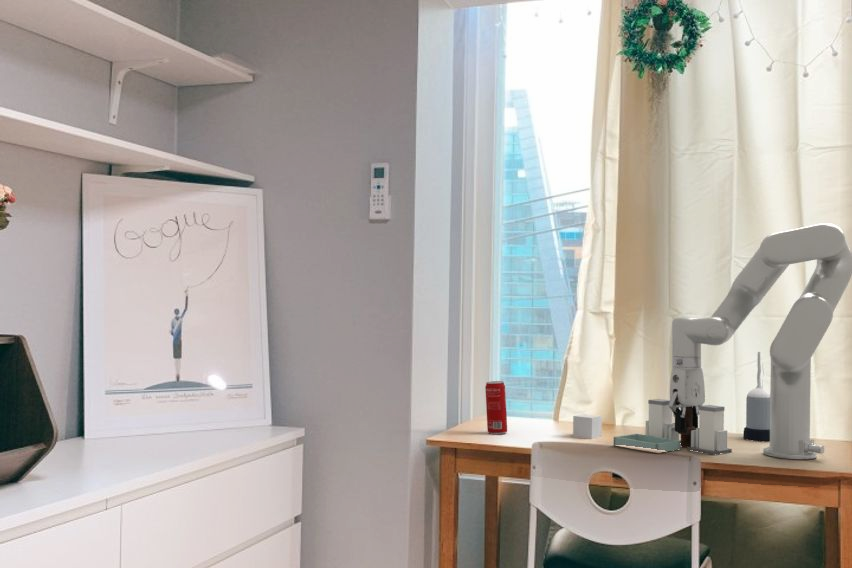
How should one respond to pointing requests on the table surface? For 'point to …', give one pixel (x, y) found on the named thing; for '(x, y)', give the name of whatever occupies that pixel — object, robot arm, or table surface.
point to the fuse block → (702, 439)
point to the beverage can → (496, 407)
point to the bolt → (687, 427)
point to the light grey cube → (587, 426)
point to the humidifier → (758, 412)
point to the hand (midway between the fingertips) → (686, 430)
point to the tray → (647, 442)
